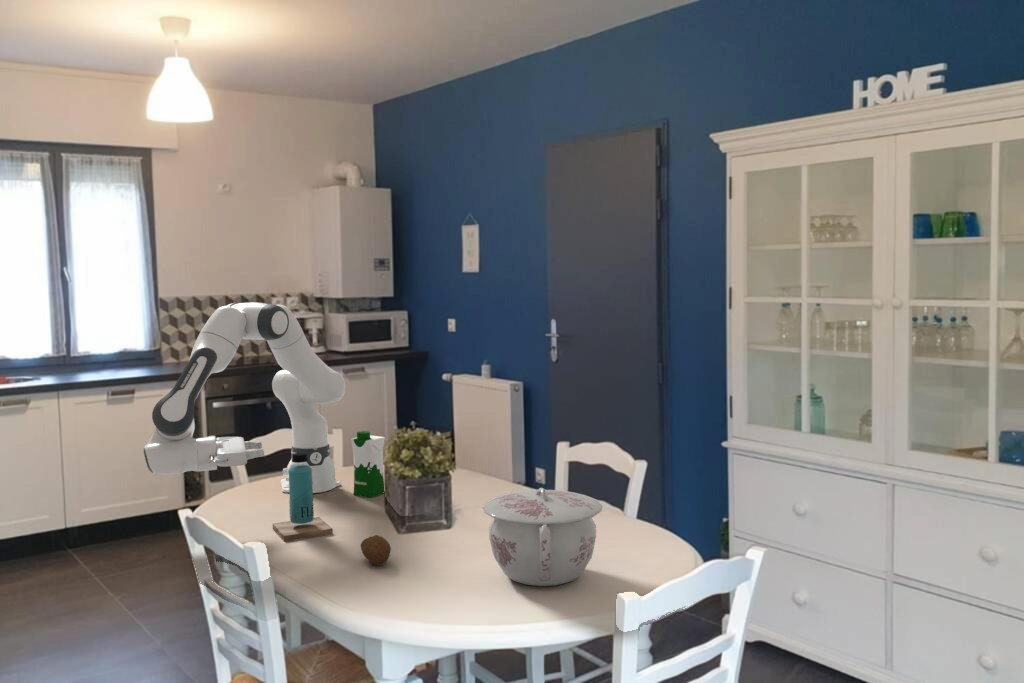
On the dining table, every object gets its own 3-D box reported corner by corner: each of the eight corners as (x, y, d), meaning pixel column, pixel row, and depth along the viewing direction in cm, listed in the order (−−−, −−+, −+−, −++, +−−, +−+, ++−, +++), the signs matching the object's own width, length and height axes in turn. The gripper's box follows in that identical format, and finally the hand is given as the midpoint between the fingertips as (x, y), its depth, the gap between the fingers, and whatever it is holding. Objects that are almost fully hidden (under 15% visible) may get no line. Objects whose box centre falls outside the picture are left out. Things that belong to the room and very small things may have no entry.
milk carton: (349, 495, 282) (347, 432, 281) (368, 489, 290) (366, 427, 288) (370, 499, 278) (369, 435, 276) (389, 492, 285) (388, 430, 284)
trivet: (272, 528, 248) (272, 523, 248) (319, 522, 254) (319, 516, 254) (284, 541, 236) (284, 535, 236) (332, 534, 242) (332, 528, 242)
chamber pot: (532, 549, 227) (531, 468, 225) (626, 572, 210) (625, 484, 208) (457, 581, 205) (455, 491, 204) (553, 609, 188) (553, 511, 186)
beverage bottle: (300, 530, 240) (298, 456, 239) (284, 526, 244) (282, 453, 243) (319, 525, 246) (317, 452, 244) (303, 521, 250) (301, 449, 248)
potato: (378, 554, 225) (378, 527, 224) (401, 566, 216) (400, 538, 215) (353, 559, 221) (353, 532, 220) (375, 572, 212) (374, 543, 211)
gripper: (209, 450, 232) (264, 445, 236) (208, 434, 251) (260, 430, 255) (210, 474, 232) (266, 468, 237) (209, 456, 252) (261, 451, 256)
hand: (262, 448), depth 246 cm, fingers open, 8 cm apart
